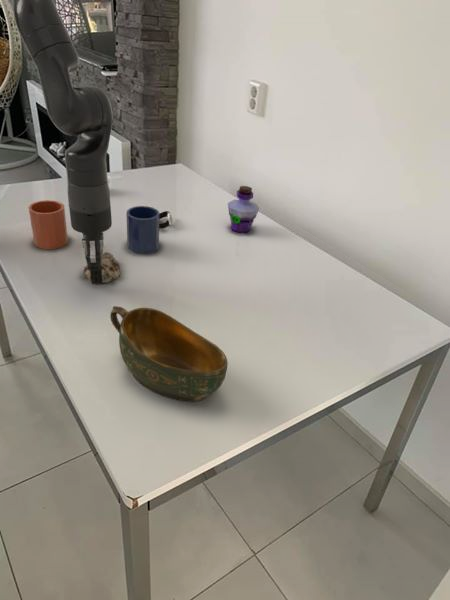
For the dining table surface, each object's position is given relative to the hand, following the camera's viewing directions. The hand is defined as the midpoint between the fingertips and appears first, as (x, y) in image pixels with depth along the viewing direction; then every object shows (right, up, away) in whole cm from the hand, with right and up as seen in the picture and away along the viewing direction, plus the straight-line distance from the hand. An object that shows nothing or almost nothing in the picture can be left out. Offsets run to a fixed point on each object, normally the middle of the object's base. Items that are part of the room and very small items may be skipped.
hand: (96, 282), depth 94 cm
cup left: (-15, +10, +15) cm, 24 cm away
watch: (+10, +17, +29) cm, 35 cm away
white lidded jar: (-11, +29, +43) cm, 53 cm away
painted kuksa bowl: (+17, -17, -18) cm, 30 cm away
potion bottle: (+31, +16, +31) cm, 47 cm away
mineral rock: (0, +2, +6) cm, 7 cm away
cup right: (+7, +10, +18) cm, 21 cm away
